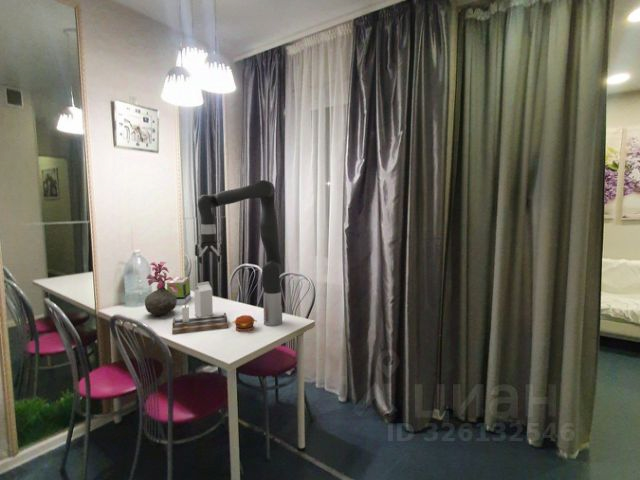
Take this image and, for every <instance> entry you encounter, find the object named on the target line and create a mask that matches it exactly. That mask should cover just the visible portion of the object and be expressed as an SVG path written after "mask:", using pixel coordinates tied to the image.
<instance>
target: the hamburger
mask: <svg viewBox="0 0 640 480" xmlns="http://www.w3.org/2000/svg"><path fill="white" fill-rule="evenodd" d="M255 322H257V320H256V319H255V318H254V317H253V316H251V315H247V314H245V315H240V316H237V317H236V318H235V320H232V324H233V323H234V324H235V330H236V331H237V332H241V333H242V332H243V333H245V332H251V331H252V330H254V328H255V326H254V323H255Z"/></svg>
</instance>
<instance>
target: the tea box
mask: <svg viewBox="0 0 640 480" xmlns="http://www.w3.org/2000/svg"><path fill="white" fill-rule="evenodd" d="M172 279H173V280H174V281H173V280H168V282H166V289H167V290H169V291H171V292H173V291H172V289H171V288H170V286H169V285H173V286H175V287H176V288H177V289H178V293H176V292H173V293H174V294H175V296H176V298H177V304H176V306H182V305H186V303H187V302H188V301H189V300H190V299H191V298H192V297H191V281H190V276H181V277H180V276H178V277H176V276H174V277H173V278H172Z"/></svg>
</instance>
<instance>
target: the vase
mask: <svg viewBox="0 0 640 480" xmlns="http://www.w3.org/2000/svg"><path fill="white" fill-rule="evenodd" d="M166 263H167V262H166V261H165V262H164V261H160V262H159V263H156V262H155V261H153V262H151V263H149V264H150V265H151V266H153V267H151V271H152V272H154V275H152V274H151V273H149V274H147V277H146V279H147V280H148V281H147V284H148V285H149V286H151V285H152V284H153V283H157V285H156V290H155V291H152V292H151V293H149V294H148V295H147V296H146V297H145V299H144V304H145V305H144V306H145V310H146V311H147V312H148V313H150V314H151V315H154V316H155V317H164V316H167V315H169V314H170V313H171V312H172V311H174V310H175V309H176V306H177V305H176V304H177V298H176V296H175V294H174V293H173V292H176V293H178V289H177V288H176V287H175V286H173V285H169V286H170V288H171V289H172V291H173V292H171V291H169V290H167V288H166V281H170V280H173V278H172V277H171V276H170V277H169V276H168V275H167V273H166V272H168V273H170V271H169V269H168V267H166V266H164V265H165V264H166ZM161 272H162V273H163V274H161ZM167 276H168V277H167ZM173 281H174V280H173Z"/></svg>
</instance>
